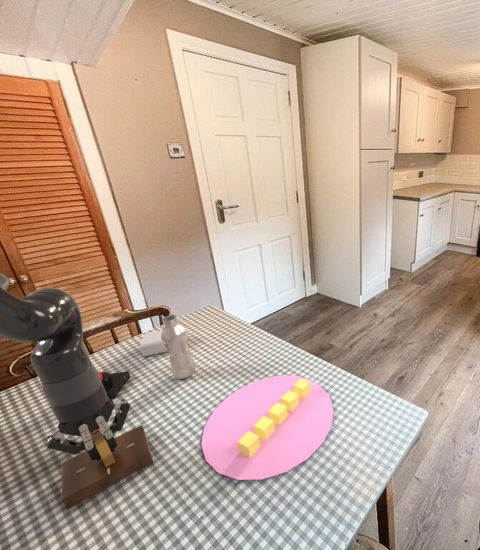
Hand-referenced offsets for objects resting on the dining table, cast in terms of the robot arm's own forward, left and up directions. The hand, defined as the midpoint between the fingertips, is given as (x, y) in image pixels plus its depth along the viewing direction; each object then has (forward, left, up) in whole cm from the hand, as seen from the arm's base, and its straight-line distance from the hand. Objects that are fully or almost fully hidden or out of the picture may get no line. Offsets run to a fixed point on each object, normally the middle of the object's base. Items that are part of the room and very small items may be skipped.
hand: (105, 453), depth 64 cm
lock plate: (0, 0, -4) cm, 4 cm away
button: (-16, +27, 0) cm, 31 cm away
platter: (+33, +6, -4) cm, 34 cm away
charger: (-4, +47, -4) cm, 47 cm away
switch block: (-16, +27, -4) cm, 31 cm away
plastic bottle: (+6, +29, -4) cm, 30 cm away
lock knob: (0, 0, -1) cm, 1 cm away
